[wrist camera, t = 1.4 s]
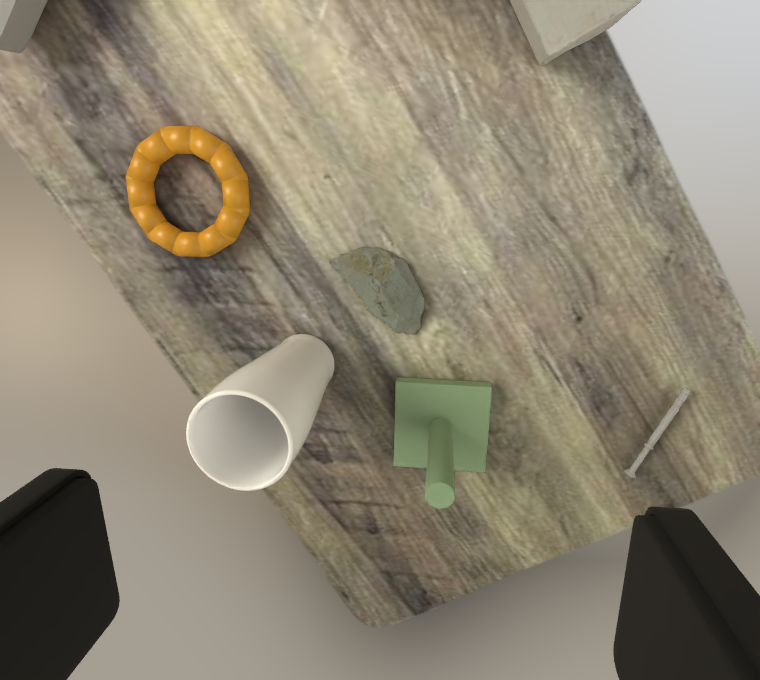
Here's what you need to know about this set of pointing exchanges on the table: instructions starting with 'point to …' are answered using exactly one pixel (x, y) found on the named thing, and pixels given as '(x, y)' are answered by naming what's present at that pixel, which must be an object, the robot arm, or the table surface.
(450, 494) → the rack
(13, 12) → the flat grey box
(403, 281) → the rock
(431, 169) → the table surface
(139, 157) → the ring
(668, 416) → the wall anchor
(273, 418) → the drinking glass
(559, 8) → the toppled traffic bollard
